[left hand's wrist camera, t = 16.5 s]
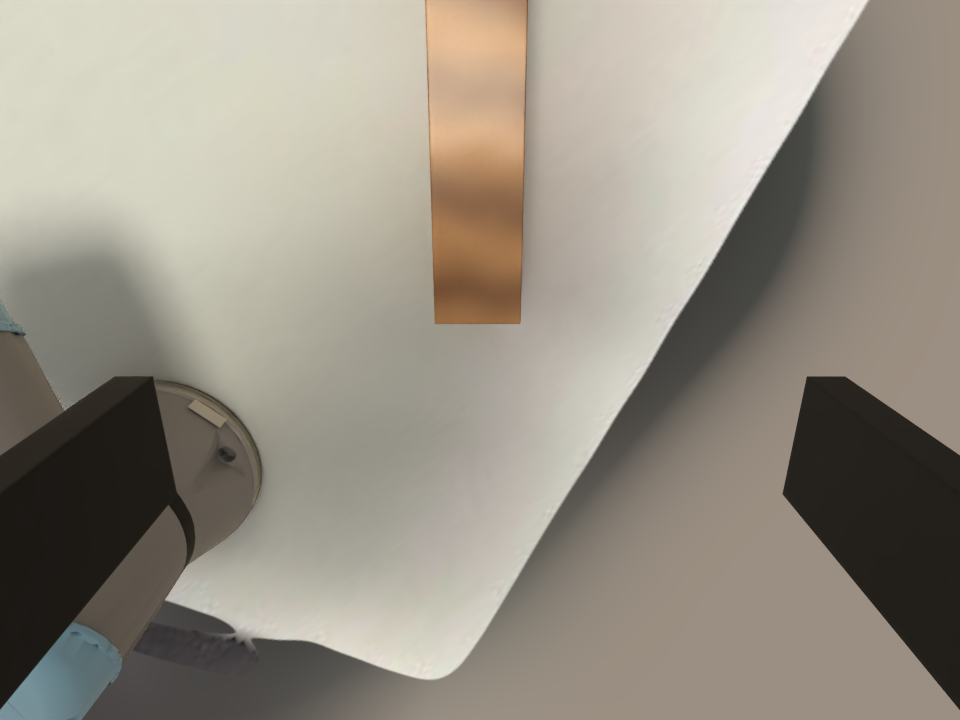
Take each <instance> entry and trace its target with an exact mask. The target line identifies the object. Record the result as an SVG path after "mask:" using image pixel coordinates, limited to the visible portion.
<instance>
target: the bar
mask: <svg viewBox="0 0 960 720" xmlns="http://www.w3.org/2000/svg"><path fill="white" fill-rule="evenodd" d="M425 5H426V39H427V73H428V107H429V141H430V174H431V208H432V242H433V276H434V310H435V324H520V321H521V278H522V234H523V190H524V147H525V103H526V59H527V15H528V0H425Z"/></svg>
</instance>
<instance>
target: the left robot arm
mask: <svg viewBox="0 0 960 720" xmlns="http://www.w3.org/2000/svg"><path fill="white" fill-rule="evenodd" d="M24 335H26V333H25V331H24V329H23V328H22V327H21V326H19V325H17V324H15V323H14V321H13V320H12V318H11V316H10V315H9V313H8V312H7V310H6V308H5V307H4V305H3V304H2V302H1V300H0V720H81V719H82V718H83V717H84V715H85V714H86V713H87V711H88V710H89V709H90V707H91V706H92V705H93V703H94V702H95V701H96V700H97V698H98V697H99V696H100V694H101V693H102V692H103V690H104V689H105V688H106V687H107V686H109V685H110V684H111V683H112V682H113V681H114V680H115V679H116V678H117V676H118V674H119V672H120V671H121V667H122V666H123V664H124V663H125V661H126V660H127V658H128V656H129V655H130V653H131V652H132V650H133V649H134V647H135V646H136V644H137V642H138V641H139V639H140V638H141V636H142V635H143V633H144V631H145V630H146V628H147V627H148V625H149V624H150V622H151V621H152V619H153V617H154V616H155V614H156V613H157V611H158V610H159V608H160V606H161V605H162V603H163V602H164V600H165V599H166V597H167V596H168V594H169V592H170V591H171V589H172V588H173V586H174V585H175V583H176V582H177V580H178V578H179V577H180V575H181V573H182V572H183V570H184V569H185V568H186V566H187V565H188V564H189V563H191V562H192V561H194V560H195V559H197V558H198V557H200V556H201V555H203V554H204V553H205V552H207V551H208V550H210V549H211V548H213V547H214V546H216V545H217V544H219V543H220V542H222V541H223V540H224V539H226V538H227V537H228V536H229V535H230V534H231V533H233V532H234V531H235V530H236V529H237V528H238V527H239V526H240V525H241V523H242V522H243V521H244V519H245V518H246V516H247V514H248V513H249V511H250V509H251V508H252V506H253V504H254V502H255V500H256V498H257V495H258V492H259V488H260V482H261V467H260V461H259V457H258V453H257V450H256V448H255V445H254V443H253V441H252V439H251V437H250V435H249V434H248V432H247V431H246V429H245V428H244V426H243V425H242V424H241V422H240V421H239V420H238V419H237V418H236V417H235V416H234V415H233V414H232V413H231V412H230V411H229V410H228V409H227V408H225V407H224V406H223V405H222V404H220V403H219V402H217V401H216V400H214V399H213V398H211V397H210V396H208V395H206V394H204V393H202V392H200V391H197V390H195V389H193V388H190V387H187V386H184V385H180V384H176V383H172V382H165V381H154V379H153V377H114V378H112V379H111V380H109V381H108V382H106V383H105V384H103V385H102V386H100V387H99V388H98V389H96V390H95V391H93V392H92V393H90V394H89V395H87V396H86V397H84V398H83V399H82V400H80V401H79V402H77V403H76V404H74V405H73V406H71V407H70V408H68V409H67V410H66V411H64V410H63V408H62V406H61V405H60V403H59V401H58V399H57V397H56V395H55V393H54V392H53V390H52V388H51V386H50V384H49V382H48V381H47V379H46V377H45V375H44V373H43V371H42V369H41V368H40V366H39V364H38V362H37V360H36V358H35V357H34V355H33V353H32V351H31V349H30V347H29V345H28V344H27V342H26V340H25V338H24ZM783 495H784V496H785V498H786V499H787V500H788V501H789V502H790V504H791V505H792V506H793V507H794V509H795V510H796V511H797V512H798V513H799V515H800V516H801V517H802V518H803V519H804V521H805V522H806V523H807V524H808V526H809V527H810V528H811V529H812V530H813V532H814V533H815V534H816V535H817V537H818V538H819V539H820V540H821V541H822V543H823V544H824V545H825V546H826V547H827V549H828V550H829V551H830V552H831V554H832V555H833V556H834V557H835V558H836V560H837V561H838V562H839V563H840V565H841V566H842V567H843V568H844V569H845V571H846V572H847V573H848V574H849V576H850V577H851V578H852V579H853V580H854V582H855V583H856V584H857V585H858V586H859V588H860V589H861V590H862V591H863V592H864V594H865V595H866V596H867V597H868V599H869V600H870V601H871V602H872V603H873V605H874V606H875V607H876V608H877V610H878V611H879V612H880V613H881V614H882V616H883V617H884V618H885V619H886V621H887V622H888V623H889V624H890V625H891V627H892V628H893V629H894V630H895V632H896V633H897V634H898V635H899V636H900V638H901V639H902V640H903V641H904V642H905V644H906V645H907V646H908V647H909V649H910V650H911V651H912V652H913V653H914V655H915V656H916V657H917V658H918V660H919V661H920V662H921V663H922V664H923V666H924V667H925V668H926V669H927V671H928V672H929V673H930V674H931V675H932V677H933V678H934V679H935V680H936V681H937V683H938V684H939V685H940V686H941V688H942V689H943V690H944V691H945V692H946V694H947V695H948V696H949V697H950V699H951V700H952V701H953V702H954V703H955V705H956V706H957V707H958V708H959V710H960V455H958V454H957V453H955V452H954V451H953V450H951V449H950V448H948V447H947V446H945V445H944V444H942V443H941V442H939V441H938V440H937V439H935V438H934V437H932V436H931V435H929V434H928V433H926V432H925V431H923V430H922V429H921V428H919V427H918V426H916V425H915V424H913V423H912V422H910V421H909V420H907V419H906V418H905V417H903V416H902V415H900V414H899V413H897V412H896V411H894V410H893V409H892V408H890V407H888V406H887V405H886V404H884V403H883V402H881V401H880V400H878V399H877V398H875V397H874V396H873V395H871V394H870V393H868V392H867V391H865V390H864V389H862V388H861V387H859V386H858V385H856V384H855V383H854V382H852V381H851V380H849V379H848V378H846V377H807V379H806V384H805V389H804V394H803V398H802V403H801V408H800V413H799V418H798V423H797V427H796V432H795V437H794V442H793V447H792V452H791V456H790V461H789V466H788V471H787V476H786V480H785V485H784V490H783Z"/></svg>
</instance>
